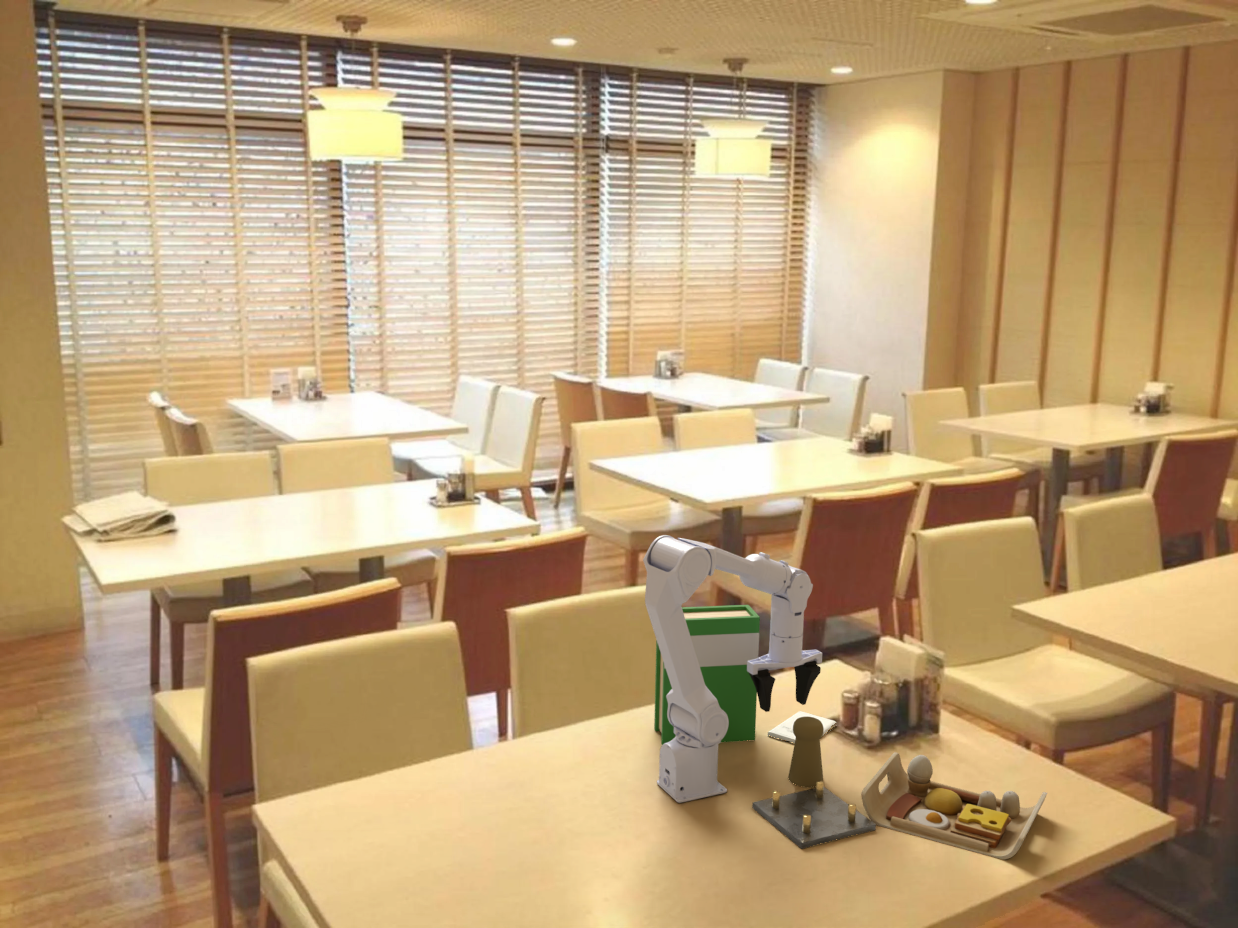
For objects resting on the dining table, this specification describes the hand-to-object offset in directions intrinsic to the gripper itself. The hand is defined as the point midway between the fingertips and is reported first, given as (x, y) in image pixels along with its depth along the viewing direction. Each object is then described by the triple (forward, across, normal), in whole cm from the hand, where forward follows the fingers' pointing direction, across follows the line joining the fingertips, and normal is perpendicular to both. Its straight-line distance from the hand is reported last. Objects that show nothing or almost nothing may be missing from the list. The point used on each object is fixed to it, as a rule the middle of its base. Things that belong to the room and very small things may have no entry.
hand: (783, 705), depth 198 cm
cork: (+11, 0, +8) cm, 13 cm away
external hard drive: (+11, -11, -9) cm, 18 cm away
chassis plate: (+10, +7, +20) cm, 23 cm away
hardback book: (+11, +7, -15) cm, 20 cm away
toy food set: (+11, -14, +29) cm, 34 cm away
